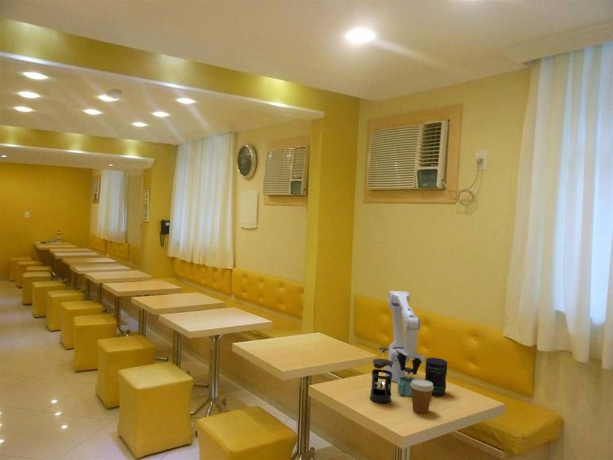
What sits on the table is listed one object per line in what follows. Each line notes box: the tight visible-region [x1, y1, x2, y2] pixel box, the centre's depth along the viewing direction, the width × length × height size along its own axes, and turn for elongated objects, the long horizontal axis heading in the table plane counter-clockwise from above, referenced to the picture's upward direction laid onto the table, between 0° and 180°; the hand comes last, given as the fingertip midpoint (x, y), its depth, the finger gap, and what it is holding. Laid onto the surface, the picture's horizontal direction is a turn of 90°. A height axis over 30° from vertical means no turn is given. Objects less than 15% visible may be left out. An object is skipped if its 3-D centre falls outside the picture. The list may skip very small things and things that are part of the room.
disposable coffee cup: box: [411, 378, 434, 415], centre depth 192 cm, size 10×10×12 cm
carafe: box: [397, 376, 416, 397], centre depth 212 cm, size 8×10×6 cm
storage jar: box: [424, 357, 448, 398], centre depth 214 cm, size 10×10×15 cm
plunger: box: [404, 366, 413, 383], centre depth 212 cm, size 6×6×8 cm
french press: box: [369, 346, 393, 405], centre depth 202 cm, size 12×9×23 cm
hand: (408, 372), depth 212 cm, fingers open, 6 cm apart
